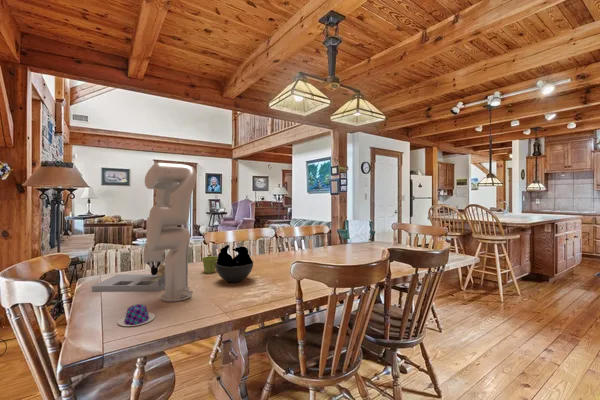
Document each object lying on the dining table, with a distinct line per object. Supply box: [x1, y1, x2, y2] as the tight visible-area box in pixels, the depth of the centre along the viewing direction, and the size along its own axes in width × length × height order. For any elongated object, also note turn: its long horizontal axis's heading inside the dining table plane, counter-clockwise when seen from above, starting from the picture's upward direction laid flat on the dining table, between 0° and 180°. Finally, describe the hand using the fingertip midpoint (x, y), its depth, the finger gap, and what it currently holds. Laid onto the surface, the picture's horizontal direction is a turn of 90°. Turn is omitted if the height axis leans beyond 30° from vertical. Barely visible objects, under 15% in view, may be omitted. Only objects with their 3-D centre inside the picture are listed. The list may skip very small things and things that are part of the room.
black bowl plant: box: [215, 244, 254, 283], centre depth 160 cm, size 20×20×19 cm
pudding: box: [117, 304, 156, 327], centre depth 109 cm, size 12×12×5 cm
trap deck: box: [91, 273, 165, 292], centre depth 153 cm, size 32×21×6 cm, turn 92°
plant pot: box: [201, 255, 218, 274], centre depth 178 cm, size 9×9×9 cm
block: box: [157, 264, 165, 277], centre depth 158 cm, size 5×5×5 cm
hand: (154, 274), depth 157 cm, fingers closed
